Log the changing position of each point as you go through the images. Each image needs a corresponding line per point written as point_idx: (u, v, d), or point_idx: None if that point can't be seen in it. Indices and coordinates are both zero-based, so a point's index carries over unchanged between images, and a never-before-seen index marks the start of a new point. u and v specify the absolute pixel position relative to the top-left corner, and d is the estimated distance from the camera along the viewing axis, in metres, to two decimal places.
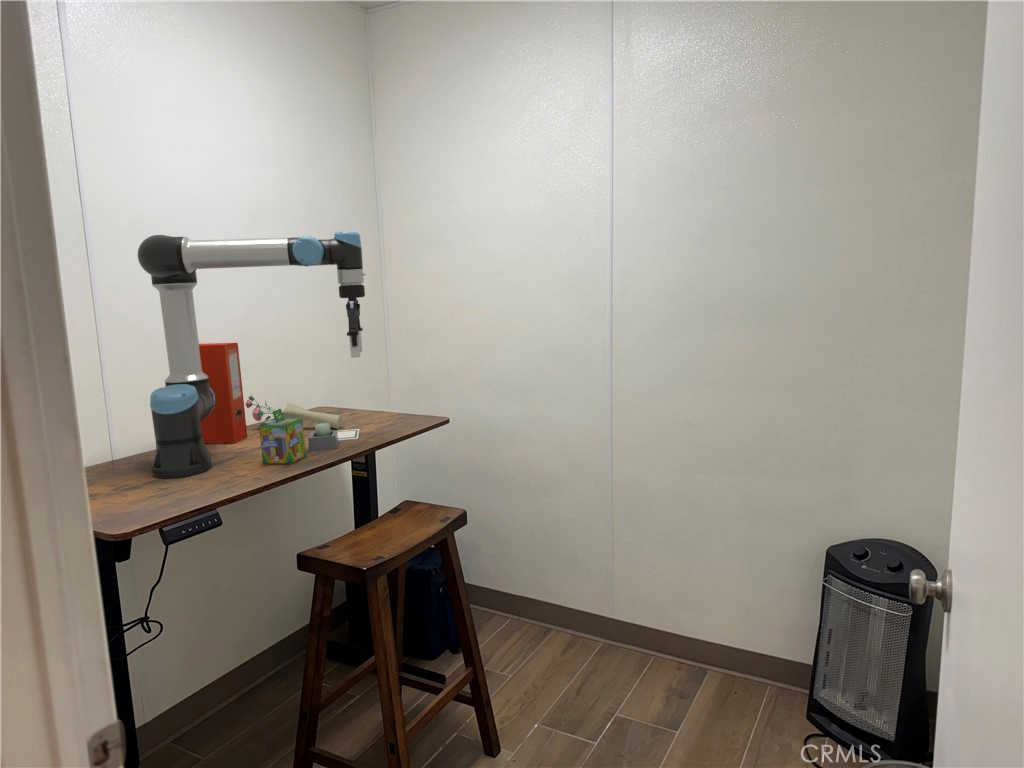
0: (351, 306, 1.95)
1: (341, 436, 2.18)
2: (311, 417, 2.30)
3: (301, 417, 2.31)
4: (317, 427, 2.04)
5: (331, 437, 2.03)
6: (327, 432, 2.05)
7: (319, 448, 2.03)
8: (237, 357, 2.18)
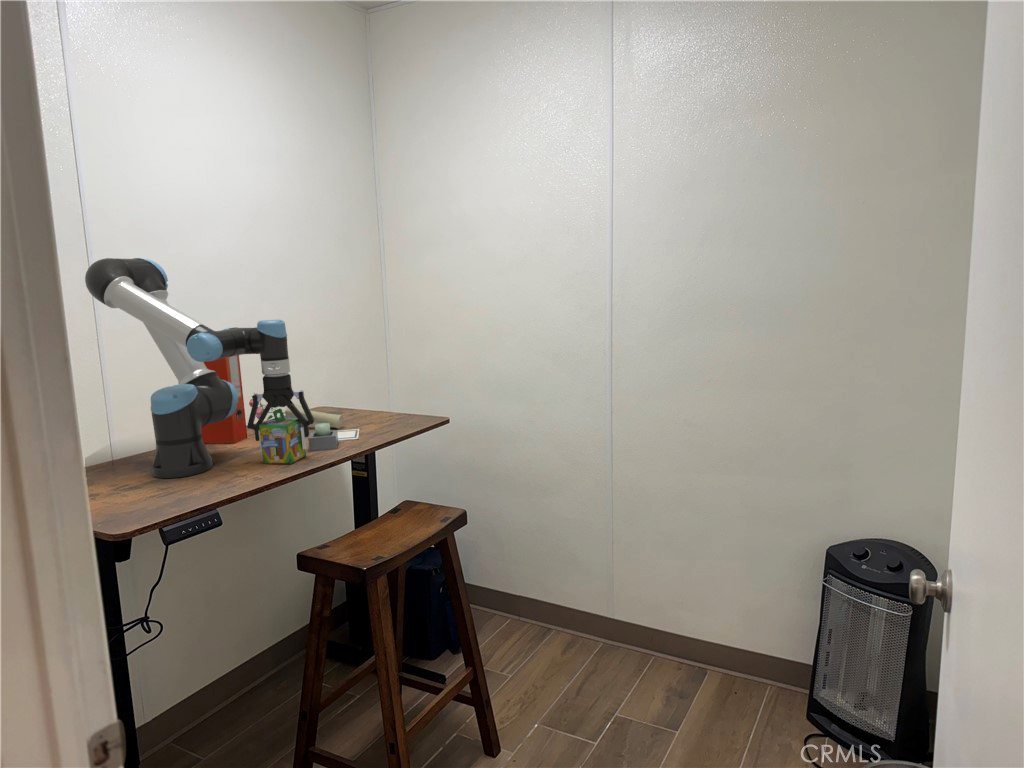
0: None
1: (341, 436, 2.18)
2: None
3: None
4: (317, 427, 2.04)
5: (331, 437, 2.03)
6: (327, 432, 2.05)
7: (319, 448, 2.03)
8: (237, 357, 2.18)
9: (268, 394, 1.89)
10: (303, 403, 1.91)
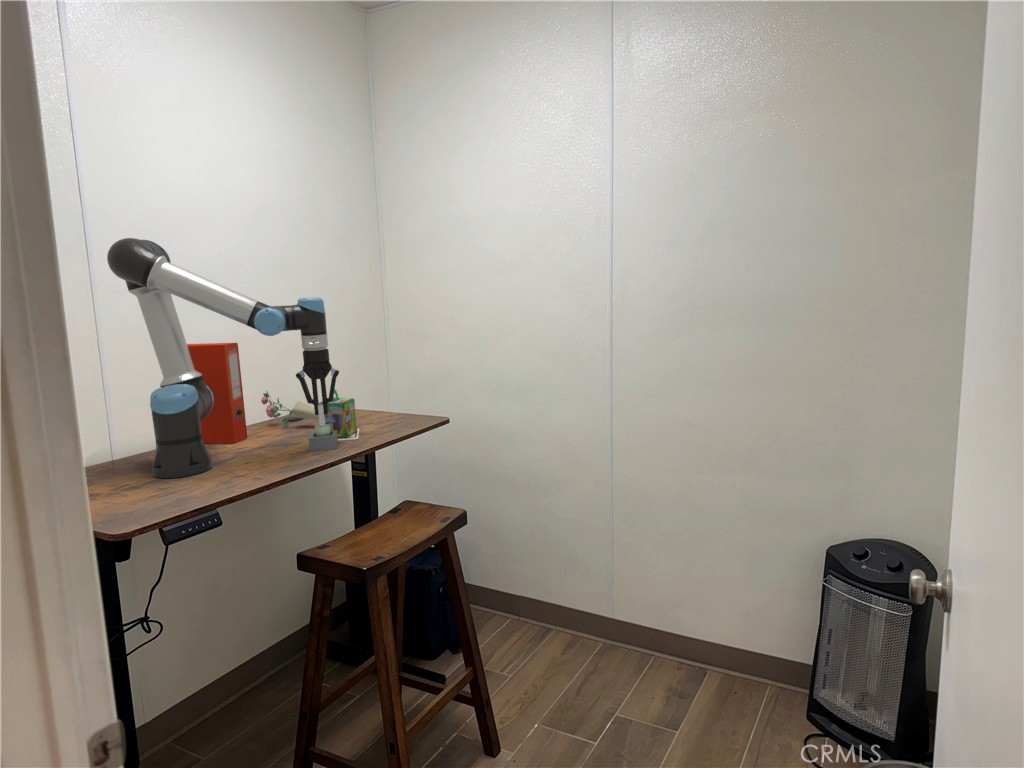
0: None
1: None
2: (318, 416, 2.31)
3: (309, 415, 2.33)
4: (317, 428, 2.04)
5: (331, 437, 2.03)
6: (327, 433, 2.05)
7: (319, 448, 2.03)
8: (237, 357, 2.18)
9: (307, 366, 2.01)
10: (333, 381, 2.03)
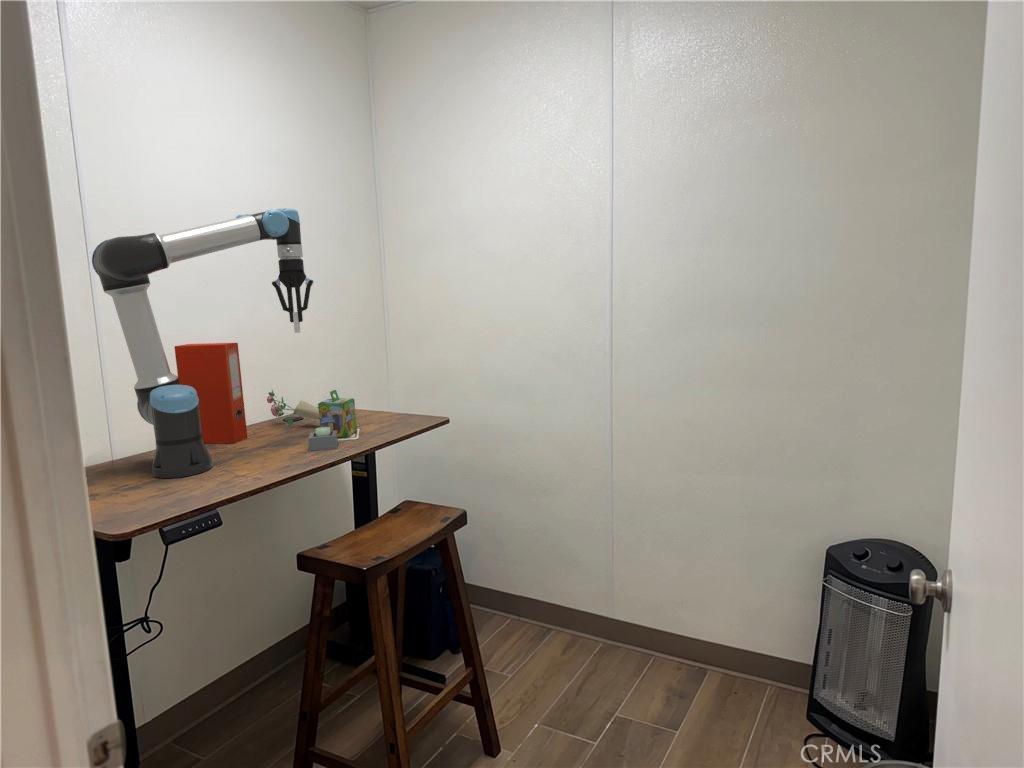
0: (274, 286, 2.14)
1: None
2: None
3: (311, 415, 2.33)
4: (317, 431, 2.04)
5: (331, 437, 2.03)
6: None
7: (319, 448, 2.03)
8: (237, 357, 2.18)
9: (282, 275, 2.13)
10: (308, 290, 2.15)
